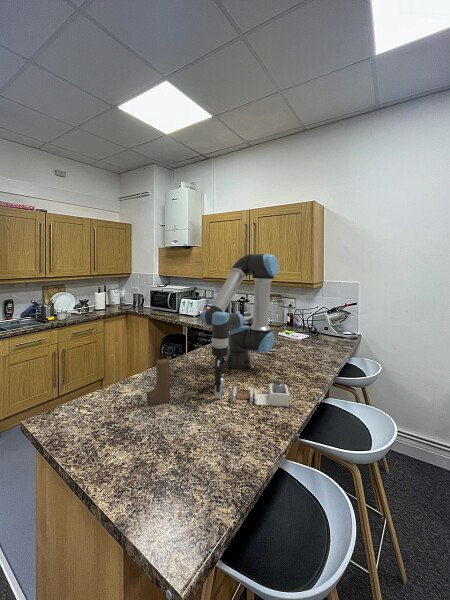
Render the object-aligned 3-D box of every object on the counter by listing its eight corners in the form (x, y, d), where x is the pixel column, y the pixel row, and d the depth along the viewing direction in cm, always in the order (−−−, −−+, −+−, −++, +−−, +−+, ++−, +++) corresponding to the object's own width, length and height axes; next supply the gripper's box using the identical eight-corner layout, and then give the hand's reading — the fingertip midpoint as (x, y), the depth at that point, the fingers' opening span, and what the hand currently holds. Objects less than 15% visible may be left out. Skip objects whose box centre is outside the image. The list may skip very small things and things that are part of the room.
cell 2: (273, 397, 123) (273, 379, 122) (283, 397, 123) (283, 380, 122) (273, 402, 119) (274, 384, 118) (284, 402, 118) (285, 384, 117)
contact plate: (237, 395, 125) (237, 390, 125) (249, 396, 125) (249, 391, 124) (236, 399, 122) (236, 393, 122) (249, 399, 121) (249, 394, 121)
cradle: (233, 394, 128) (233, 386, 128) (252, 395, 127) (252, 387, 127) (232, 404, 119) (232, 395, 119) (252, 405, 119) (253, 396, 118)
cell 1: (215, 390, 133) (215, 374, 132) (224, 390, 132) (224, 374, 131) (214, 394, 128) (214, 377, 127) (223, 395, 128) (224, 378, 127)
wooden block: (149, 407, 116) (148, 365, 114) (146, 402, 120) (145, 361, 118) (170, 401, 121) (169, 361, 119) (166, 397, 125) (166, 358, 123)
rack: (254, 396, 127) (254, 382, 126) (285, 398, 126) (286, 384, 125) (254, 407, 117) (254, 392, 116) (288, 409, 116) (289, 394, 115)
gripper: (215, 339, 139) (214, 381, 142) (207, 353, 116) (207, 404, 119) (230, 339, 139) (229, 382, 141) (225, 354, 116) (225, 405, 118)
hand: (219, 392), depth 130 cm, fingers open, 11 cm apart
